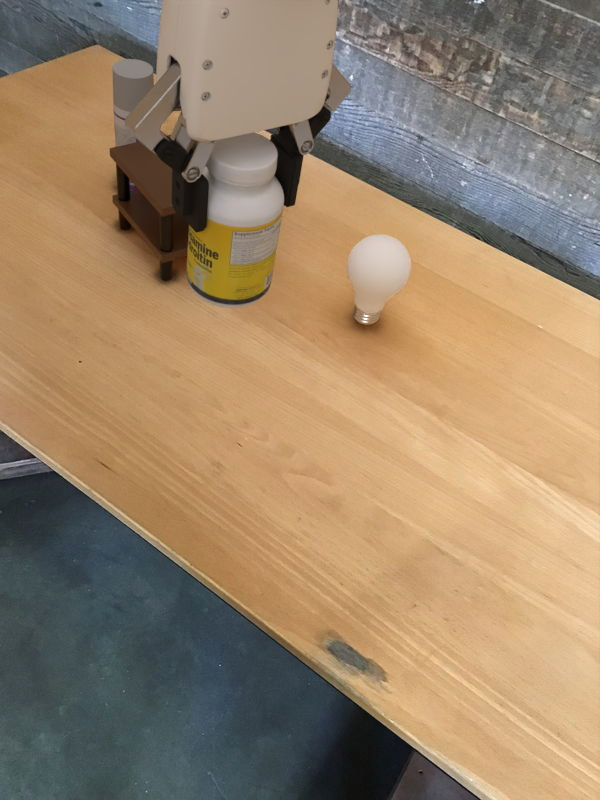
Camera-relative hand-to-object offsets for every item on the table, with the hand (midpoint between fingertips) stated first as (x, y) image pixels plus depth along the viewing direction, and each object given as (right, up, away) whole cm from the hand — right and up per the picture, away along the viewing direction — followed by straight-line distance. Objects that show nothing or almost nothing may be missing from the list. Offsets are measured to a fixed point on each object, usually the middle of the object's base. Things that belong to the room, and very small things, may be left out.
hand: (235, 205), depth 53 cm
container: (-16, +13, +42) cm, 47 cm away
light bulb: (+12, -5, +32) cm, 34 cm away
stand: (-8, +6, +37) cm, 38 cm away
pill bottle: (-1, -5, +5) cm, 7 cm away
